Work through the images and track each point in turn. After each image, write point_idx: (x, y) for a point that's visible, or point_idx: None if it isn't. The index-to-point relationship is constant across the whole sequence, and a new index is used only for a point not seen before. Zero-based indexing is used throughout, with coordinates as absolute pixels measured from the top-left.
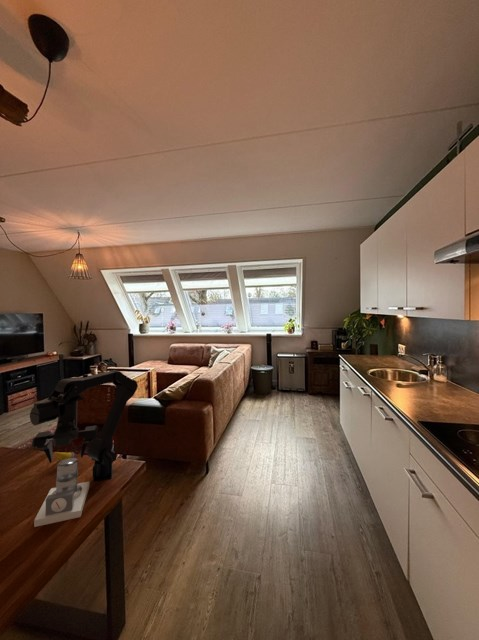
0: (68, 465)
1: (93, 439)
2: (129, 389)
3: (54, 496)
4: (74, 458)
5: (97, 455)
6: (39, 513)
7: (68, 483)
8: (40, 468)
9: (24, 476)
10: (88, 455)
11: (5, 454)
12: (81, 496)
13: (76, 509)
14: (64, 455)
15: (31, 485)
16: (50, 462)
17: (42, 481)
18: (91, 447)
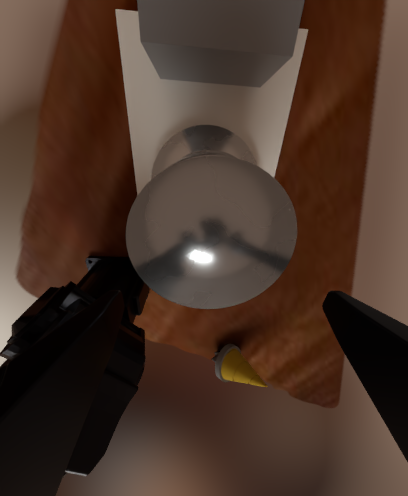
0: (196, 186)
1: (82, 452)
2: None
3: (255, 7)
4: (172, 297)
5: (65, 321)
6: (289, 85)
7: (192, 152)
8: (282, 347)
9: (312, 330)
10: (141, 343)
11: (339, 397)
12: (145, 150)
13: (139, 34)
14: (239, 372)
15: (299, 294)
16: (339, 292)
17: (276, 302)
18: (104, 385)
